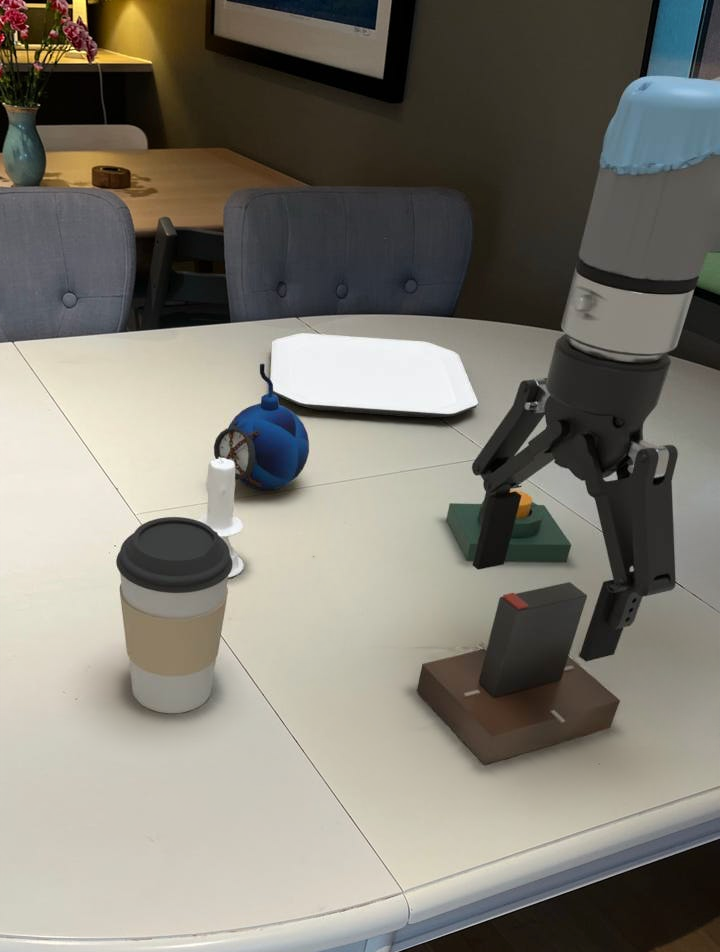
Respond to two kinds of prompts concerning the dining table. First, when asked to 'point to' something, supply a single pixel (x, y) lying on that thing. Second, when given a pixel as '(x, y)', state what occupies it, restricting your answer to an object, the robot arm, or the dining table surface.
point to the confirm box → (528, 540)
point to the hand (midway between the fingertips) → (538, 607)
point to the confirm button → (523, 504)
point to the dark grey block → (531, 638)
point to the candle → (223, 506)
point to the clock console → (514, 707)
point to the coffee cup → (173, 610)
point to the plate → (370, 376)
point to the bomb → (265, 443)
